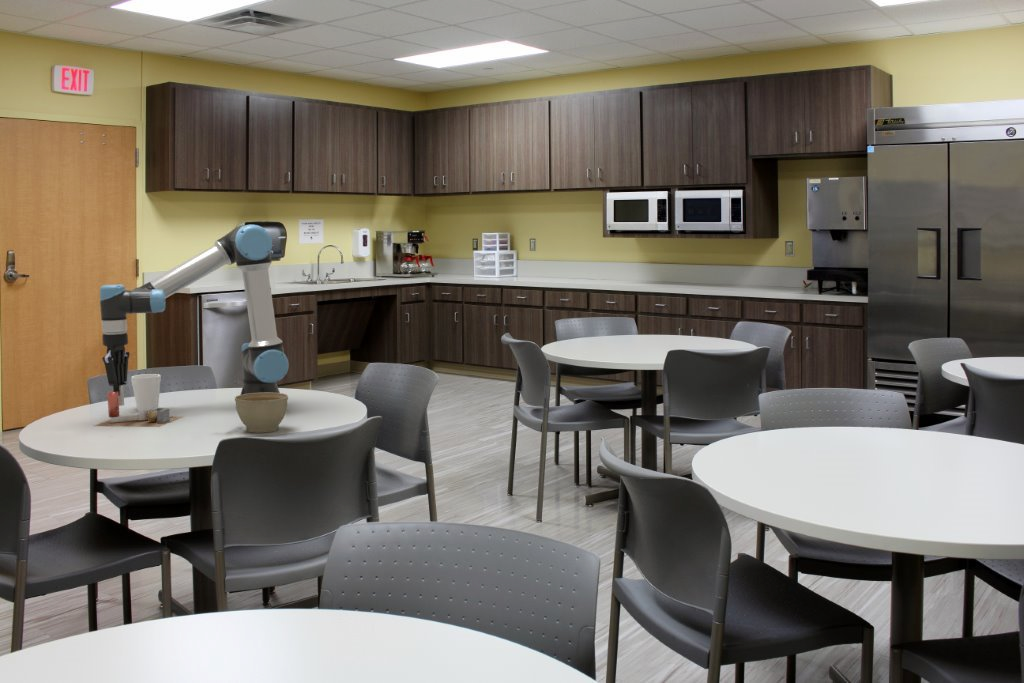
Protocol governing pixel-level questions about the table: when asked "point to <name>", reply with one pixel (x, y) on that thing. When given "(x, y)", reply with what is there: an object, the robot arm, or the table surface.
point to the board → (137, 422)
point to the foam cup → (146, 391)
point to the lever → (114, 410)
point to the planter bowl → (261, 410)
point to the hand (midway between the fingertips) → (119, 405)
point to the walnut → (152, 416)
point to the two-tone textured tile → (163, 416)
